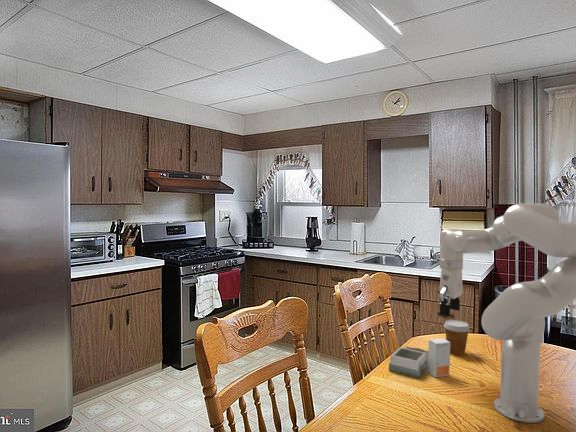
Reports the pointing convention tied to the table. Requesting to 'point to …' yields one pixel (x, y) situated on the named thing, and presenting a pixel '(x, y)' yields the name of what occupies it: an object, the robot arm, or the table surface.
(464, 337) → the disposable coffee cup
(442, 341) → the skincare box
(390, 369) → the divided tray with ball
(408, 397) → the table surface
